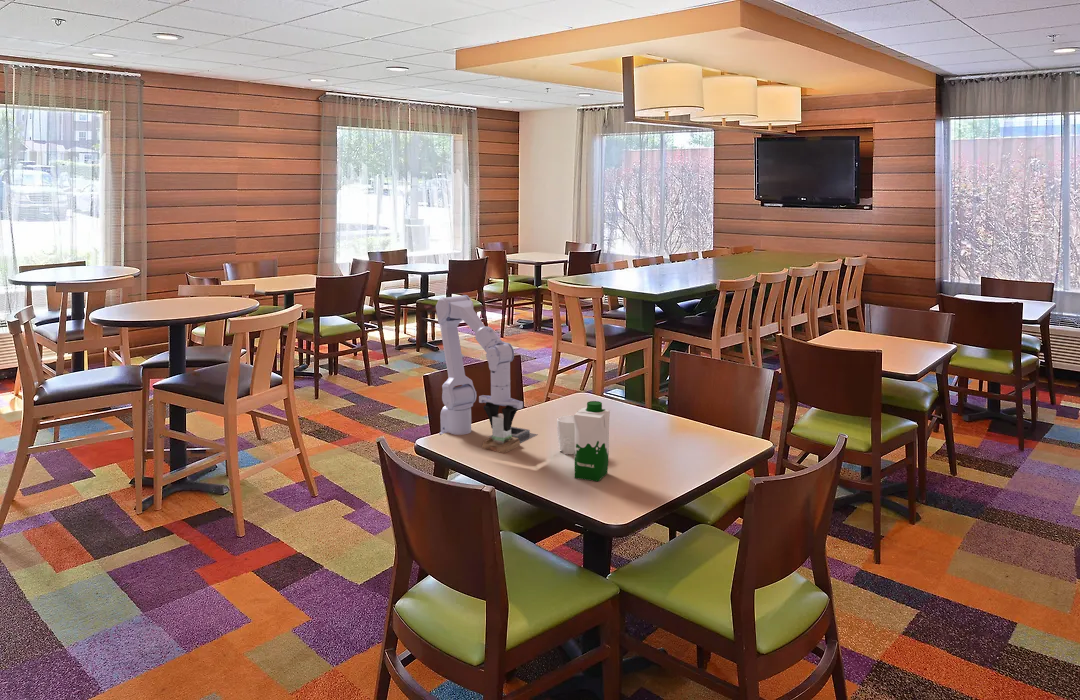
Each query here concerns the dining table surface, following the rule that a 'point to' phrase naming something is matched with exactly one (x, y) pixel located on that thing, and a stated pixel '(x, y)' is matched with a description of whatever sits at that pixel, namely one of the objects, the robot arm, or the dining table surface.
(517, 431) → the stand base
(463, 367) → the robot arm
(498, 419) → the column
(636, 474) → the dining table surface
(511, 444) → the tray
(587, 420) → the milk carton
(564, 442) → the white cup
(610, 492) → the dining table surface
